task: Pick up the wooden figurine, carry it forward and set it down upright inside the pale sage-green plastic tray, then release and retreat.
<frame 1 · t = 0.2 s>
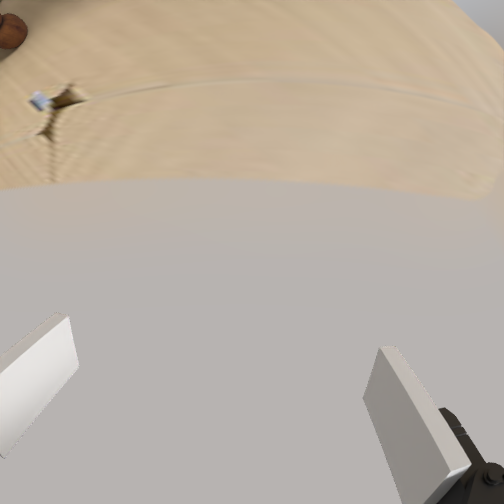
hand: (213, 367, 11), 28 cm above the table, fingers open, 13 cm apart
wooden figurine: (21, 37, 31), on the table
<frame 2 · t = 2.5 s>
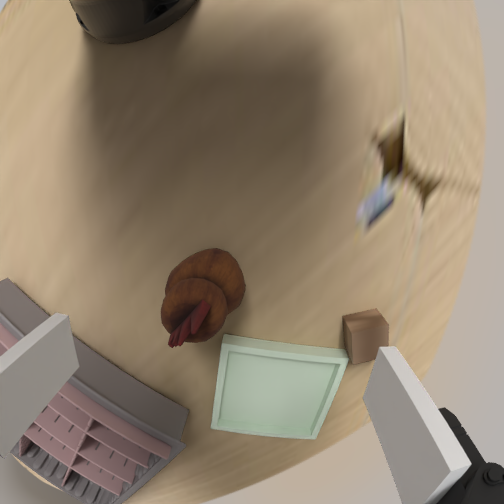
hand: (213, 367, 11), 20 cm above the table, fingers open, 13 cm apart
organizer tray: (66, 410, 39), on the table
green tray: (274, 389, 34), on the table
wooden figurine: (213, 270, 31), on the table
walnut cube: (360, 327, 32), on the table
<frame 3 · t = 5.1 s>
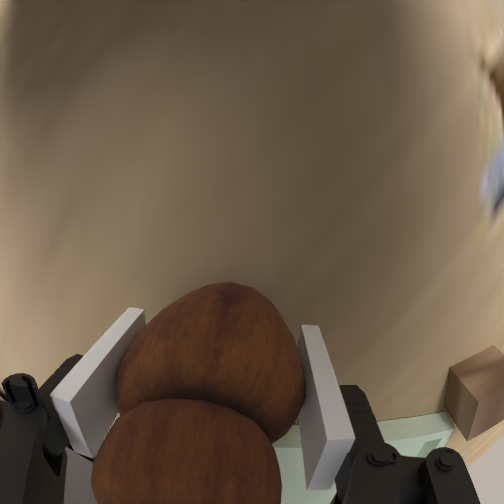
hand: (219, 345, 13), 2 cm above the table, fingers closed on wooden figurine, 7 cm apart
organizer tray: (49, 485, 23), on the table
green tray: (335, 478, 18), on the table
wooden figurine: (224, 322, 15), on the table, touching gripper
walnut cube: (468, 376, 16), on the table
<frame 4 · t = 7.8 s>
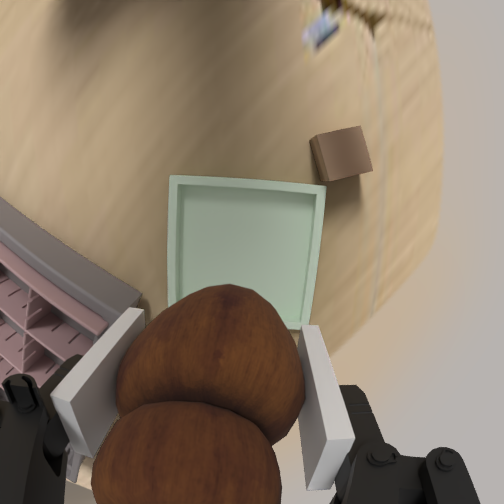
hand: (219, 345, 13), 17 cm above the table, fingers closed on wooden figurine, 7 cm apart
organizer tray: (25, 337, 34), on the table
green tray: (243, 251, 30), on the table
wooden figurine: (224, 323, 15), point 15 cm above the table, touching gripper
walnut cube: (334, 156, 27), on the table
when the fingers open (3 cm above the table, at t = 10.6 s): wooden figurine stays where it is, resting on green tray.
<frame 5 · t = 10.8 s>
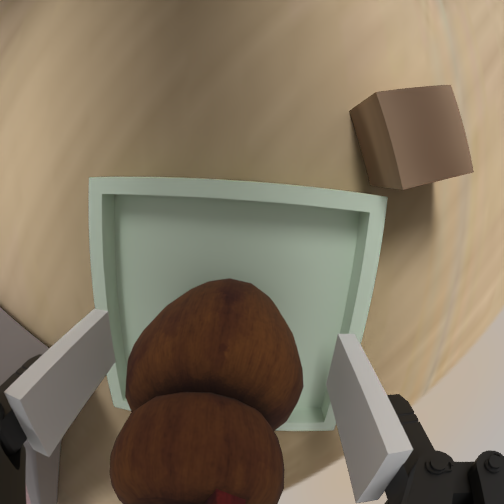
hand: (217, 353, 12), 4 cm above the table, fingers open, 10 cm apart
green tray: (227, 312, 16), on the table
wooden figurine: (224, 315, 16), point 1 cm above the table, touching green tray
walnut cube: (393, 141, 14), on the table
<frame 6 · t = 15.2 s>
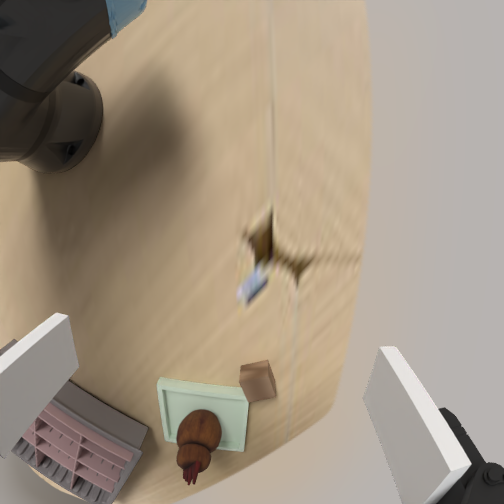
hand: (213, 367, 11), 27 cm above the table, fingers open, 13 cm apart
organizer tray: (68, 429, 49), on the table
green tray: (204, 414, 45), on the table
wooden figurine: (203, 415, 44), resting on green tray
walnut cube: (258, 372, 42), on the table
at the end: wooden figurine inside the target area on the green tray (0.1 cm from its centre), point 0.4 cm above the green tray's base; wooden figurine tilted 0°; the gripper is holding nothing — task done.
